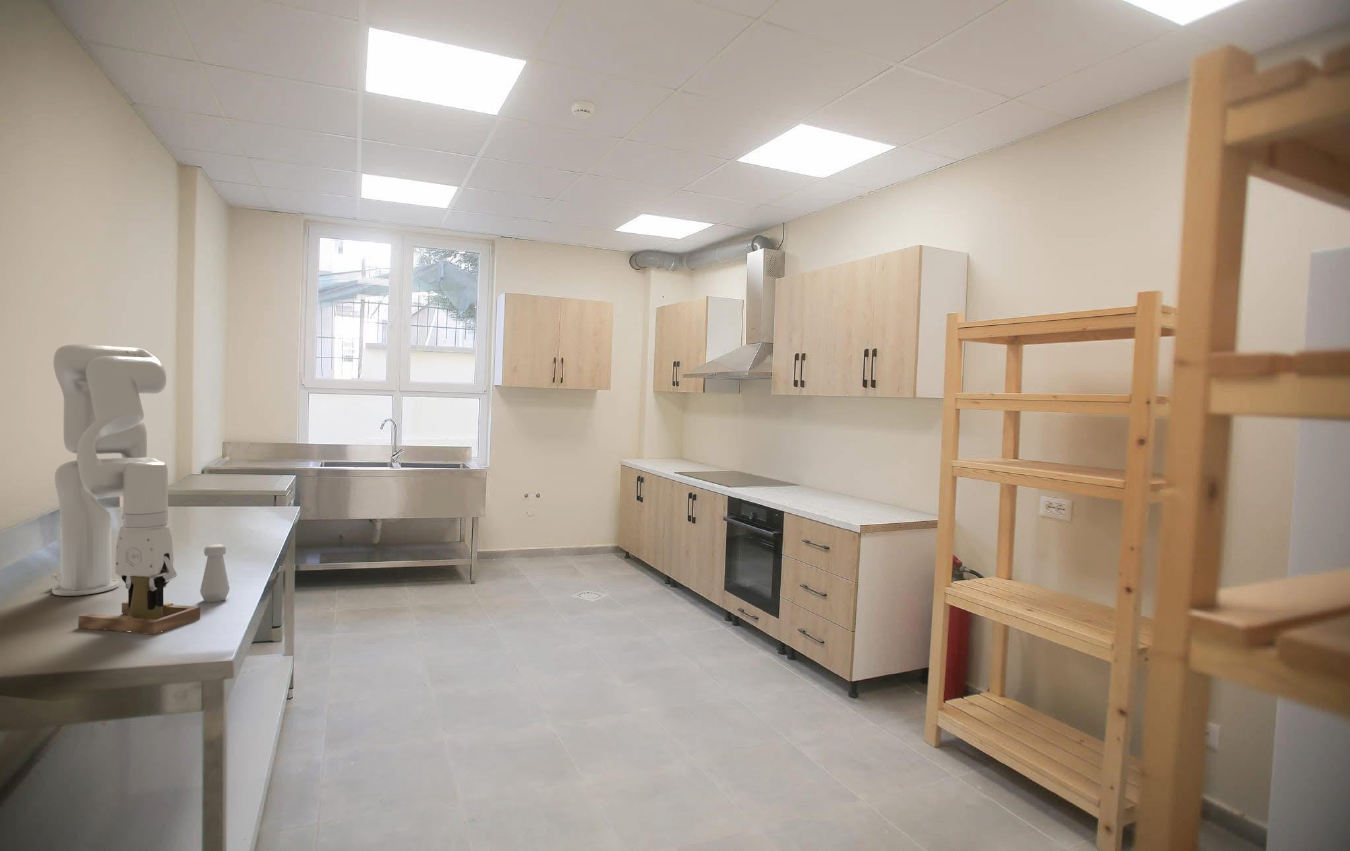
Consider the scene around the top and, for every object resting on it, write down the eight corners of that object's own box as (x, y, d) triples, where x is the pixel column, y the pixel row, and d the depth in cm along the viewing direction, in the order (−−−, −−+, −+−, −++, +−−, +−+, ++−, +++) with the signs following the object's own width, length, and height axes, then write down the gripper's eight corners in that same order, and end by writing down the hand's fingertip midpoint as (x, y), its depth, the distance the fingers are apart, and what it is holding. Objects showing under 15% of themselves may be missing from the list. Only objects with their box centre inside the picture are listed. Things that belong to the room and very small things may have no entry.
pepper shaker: (140, 615, 152) (140, 564, 152) (170, 615, 153) (170, 564, 152) (120, 624, 146) (120, 571, 146) (151, 624, 147) (151, 571, 146)
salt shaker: (214, 604, 164) (214, 548, 163) (193, 602, 165) (193, 546, 165) (235, 597, 170) (235, 543, 169) (214, 595, 171) (214, 541, 170)
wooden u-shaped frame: (78, 627, 146) (78, 614, 146) (128, 612, 157) (128, 599, 157) (154, 634, 143) (154, 620, 143) (200, 618, 154) (200, 605, 154)
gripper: (94, 521, 147) (94, 609, 147) (164, 525, 144) (164, 615, 144) (128, 515, 154) (128, 599, 155) (195, 519, 151) (195, 605, 152)
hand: (146, 606), depth 150 cm, fingers closed on pepper shaker, 3 cm apart
